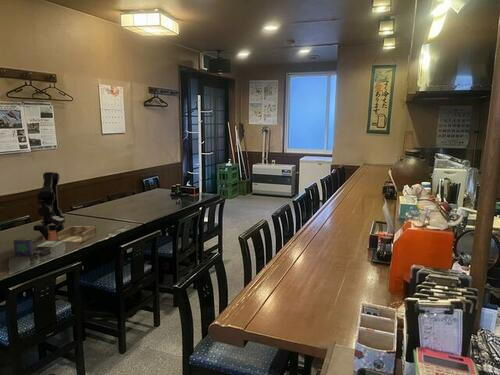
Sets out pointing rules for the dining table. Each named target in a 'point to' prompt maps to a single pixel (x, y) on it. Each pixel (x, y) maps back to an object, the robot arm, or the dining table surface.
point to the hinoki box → (76, 233)
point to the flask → (23, 247)
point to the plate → (50, 244)
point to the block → (51, 235)
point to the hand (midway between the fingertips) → (49, 238)
